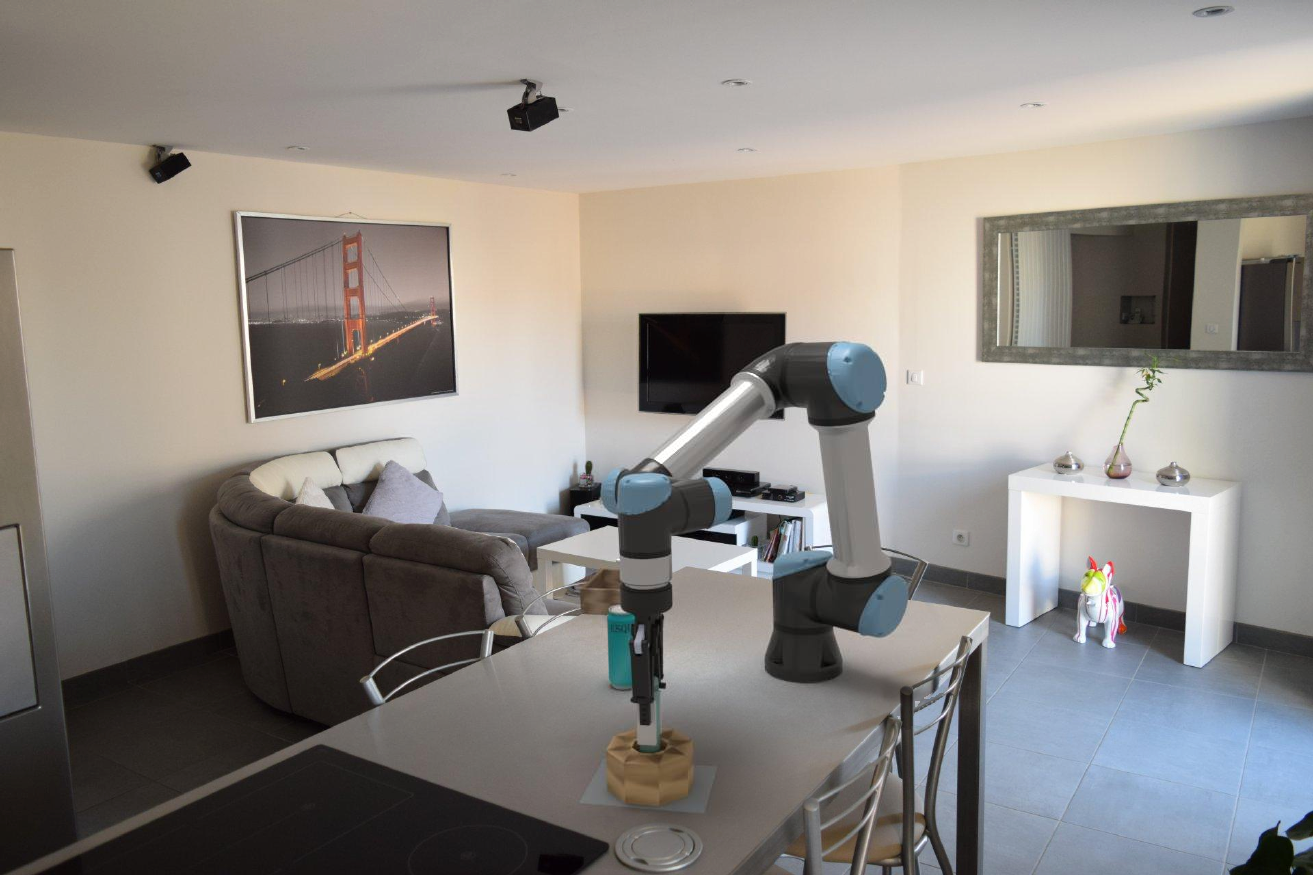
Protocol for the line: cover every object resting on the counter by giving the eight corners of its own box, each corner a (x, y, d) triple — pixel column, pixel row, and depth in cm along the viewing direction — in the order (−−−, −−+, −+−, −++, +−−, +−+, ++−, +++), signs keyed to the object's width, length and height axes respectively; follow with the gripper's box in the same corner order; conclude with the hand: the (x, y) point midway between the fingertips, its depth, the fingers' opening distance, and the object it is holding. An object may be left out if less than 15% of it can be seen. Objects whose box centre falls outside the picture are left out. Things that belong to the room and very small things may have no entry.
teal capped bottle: (662, 766, 138) (660, 675, 137) (658, 776, 135) (656, 683, 134) (642, 765, 139) (639, 674, 137) (637, 774, 136) (635, 682, 134)
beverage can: (635, 691, 173) (633, 613, 171) (605, 690, 174) (603, 612, 173) (642, 680, 179) (640, 604, 177) (613, 678, 180) (611, 603, 178)
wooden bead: (697, 768, 142) (696, 730, 141) (684, 808, 130) (683, 767, 130) (620, 762, 144) (619, 725, 144) (600, 801, 133) (599, 761, 132)
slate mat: (717, 768, 142) (717, 766, 142) (704, 816, 129) (704, 813, 129) (603, 760, 146) (603, 758, 146) (578, 805, 132) (578, 803, 132)
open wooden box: (658, 593, 237) (657, 570, 236) (642, 616, 218) (641, 591, 218) (601, 591, 240) (600, 568, 239) (580, 613, 221) (579, 589, 221)
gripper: (632, 566, 142) (636, 714, 145) (606, 597, 127) (611, 761, 130) (681, 568, 141) (684, 717, 144) (660, 599, 125) (664, 765, 128)
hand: (649, 737), depth 137 cm, fingers closed on teal capped bottle, 3 cm apart
